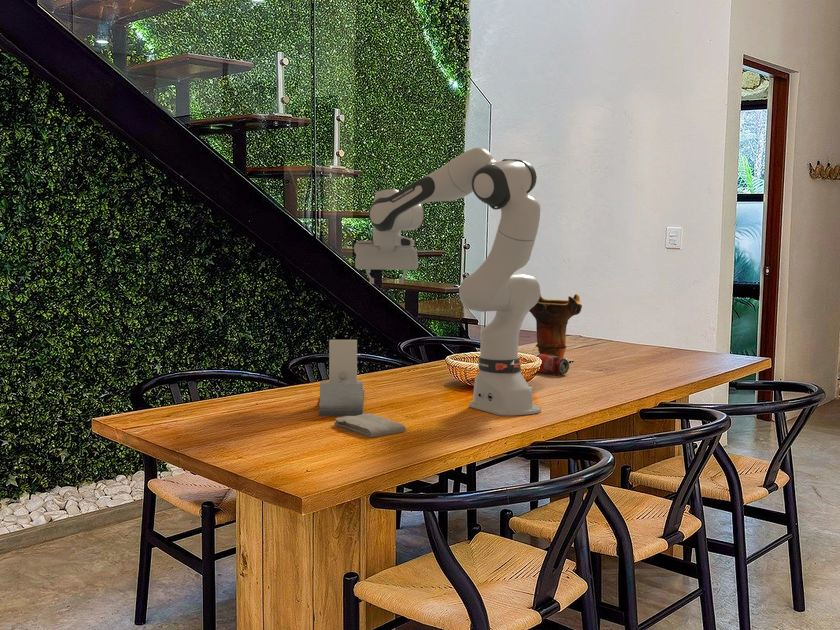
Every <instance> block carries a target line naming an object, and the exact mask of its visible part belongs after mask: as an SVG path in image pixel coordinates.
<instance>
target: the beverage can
mask: <svg viewBox="0 0 840 630" xmlns="http://www.w3.org/2000/svg"><path fill="white" fill-rule="evenodd" d="M535 357H539V358H540V359H541V360H542V364H541V366H540V369H539V372H538V373H541V372H542V373H543V374H548V373H549V374H550V375H554V374H555V376H562V375H566V374H567V373H568V371H569V369H570V363H569V362H568V361H567V360H566V359H565V358H566V357H558V356H551V355H545V354H540V353H538V354H536V356H535Z"/></svg>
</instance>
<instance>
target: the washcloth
mask: <svg viewBox="0 0 840 630" xmlns="http://www.w3.org/2000/svg"><path fill="white" fill-rule="evenodd" d="M333 425H334V426H336V427H337V428H339V429H341V430H345V431H348V432H350V433H354V434H356V435H360V436H363V437H366V438H377V437H378V438H379V437H381V436H387V435H394V434H395V435H396V434H400V433H405V432H406V431H407V428H406V426H405V425H404V424H403V423H400V422H397V421H393V420H392V419H389V418H386V417H381V416H379V415H376V414H373V413H363V414H361V415H357V416H339V417H336V418H335V420H334V422H333Z"/></svg>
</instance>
